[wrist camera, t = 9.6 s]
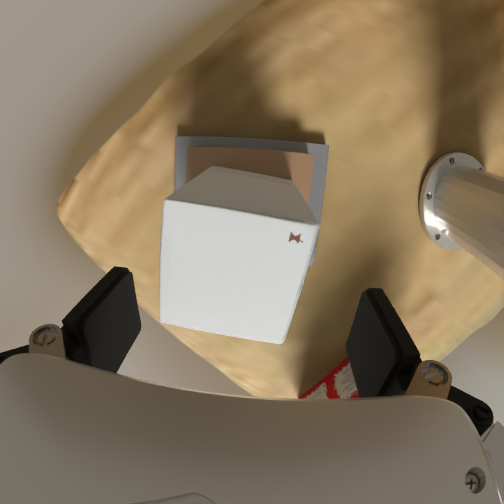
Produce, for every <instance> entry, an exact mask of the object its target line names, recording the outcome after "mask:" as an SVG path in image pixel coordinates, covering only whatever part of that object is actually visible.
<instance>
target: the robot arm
mask: <svg viewBox="0 0 504 504" xmlns="http://www.w3.org/2000/svg"><path fill="white" fill-rule="evenodd" d="M419 209H420V218H421V222H422V225H423V228H424V230H425V232H426V234H427V235H428V237H429V238H430V239H431V240H432V241H433V242H434V243H435V244H437V245H438V246H440V247H442V248H444V249H448V250H455V249H460V248H463V249H465V250H466V251H467V252H469V253H470V254H471V255H473V256H474V257H475V258H477V259H478V260H479V261H481V262H482V263H483V264H484V265H486V266H487V267H488V268H490V269H491V270H492V271H493V272H495V273H496V274H497V275H498V276H499V277H501V278H502V279H503V280H504V177H502V176H499V175H495V174H492V173H489V172H486V171H485V170H484V168H483V167H482V165H481V164H480V163H479V161H477V160H476V159H475V158H474V157H472V156H471V155H469V154H465V153H461V152H452V153H447V154H446V155H444V156H442V157H440V158H439V159H438V160H437V161H436V162H435V163H434V164H433V165H432V166H431V168H430V169H429V171H428V173H427V175H426V176H425V179H424V182H423V185H422V188H421V193H420V202H419ZM62 323H63V327H62V328H60V327H59V326H57V325H55V324H46V325H42V326H40V327H38V328H36V329H35V330H34V331H33V332H32V333H31V335H30V338H29V345H26V346H22V347H19V348H16V349H12V350H9V351H5V352H2V353H0V504H502V502H503V500H504V427H503V426H502V425H501V424H500V423H499V422H496V423H495V424H494V423H493V412H492V410H491V408H490V407H489V406H488V405H487V404H486V403H484V402H483V401H481V400H479V399H477V398H475V397H473V396H471V395H469V394H467V393H465V392H463V391H461V390H459V389H457V388H455V387H453V386H451V382H452V376H451V373H450V371H449V370H448V368H447V367H446V366H445V365H443V364H441V363H440V362H437V361H434V360H426V361H423V362H422V360H421V358H420V353H419V351H418V349H417V347H416V346H415V344H414V342H413V340H412V338H411V337H410V335H409V333H408V331H407V330H406V328H405V326H404V324H403V323H402V321H401V319H400V318H399V316H398V314H397V313H396V311H395V309H394V308H393V306H392V304H391V303H390V301H389V299H388V298H387V296H386V295H385V293H384V291H383V290H382V289H380V288H368V289H367V290H366V291H363V292H362V295H361V298H360V302H359V305H358V308H357V312H356V315H355V318H354V322H353V325H352V328H351V331H350V334H349V337H348V340H347V344H346V351H347V354H348V358H349V361H350V365H351V368H352V372H353V376H354V379H355V383H356V387H357V391H358V395H359V398H345V399H288V398H268V397H254V396H242V395H231V394H222V393H215V392H207V391H200V390H194V389H188V388H182V387H176V386H170V385H165V384H159V383H155V382H150V381H146V380H141V379H136V378H132V377H128V376H124V375H120V374H117V371H118V369H119V367H120V365H121V364H122V362H123V360H124V359H125V357H126V355H127V353H128V351H129V350H130V348H131V346H132V344H133V343H134V341H135V339H136V338H137V336H138V334H139V332H140V330H141V320H140V315H139V310H138V305H137V299H136V293H135V287H134V281H133V275H132V272H129V270H128V268H124V267H113V268H112V269H111V270H110V271H109V272H108V273H107V274H106V275H105V276H104V277H103V278H102V279H101V280H100V281H99V282H98V283H97V284H96V285H95V286H94V287H93V288H92V289H91V290H90V291H89V292H88V293H87V294H86V295H85V296H84V297H83V299H81V301H80V302H79V303H78V304H77V305H76V306H75V307H74V308H73V309H72V310H71V311H70V312H69V314H67V315H66V317H65V318H64V319H63V320H62Z"/></svg>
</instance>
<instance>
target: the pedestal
mask: <svg viewBox="0 0 504 504" xmlns="http://www.w3.org/2000/svg"><path fill="white" fill-rule="evenodd" d="M328 151H329V145H323V144H315V143H307V142H298V141H288V140H277V139H264V138H248V137H222V136H176V144H175V191H177V190H178V189H180V188H181V187H182V186H184V185H185V184H187V183H188V182H189V181H191V180H192V179H194V178H195V177H197V176H198V175H199V174H201V173H202V172H204V171H205V170H207V169H208V168H210V167H211V166H218V167H225V168H231V169H236V170H242V171H248V172H253V173H258V174H263V175H268V176H273V177H278V178H283V179H288V180H292V181H293V183H294V184H295V186H296V187H297V189H298V191H299V192H300V194H301V195H302V197H303V198H304V200H305V201H306V203H307V205H308V206H309V208H310V209H311V211H312V213H313V214H314V216H315V217H316V219H317V221H318V222H319V224H320V219H321V212H322V204H323V197H324V188H325V180H326V171H327V161H328ZM318 233H319V230H318ZM317 240H318V234H317V237H316V240H315V244H314V247H313V251H312V254H311V258H310V261H309V265H308V266H313V265H314V259H315V253H316V247H317Z"/></svg>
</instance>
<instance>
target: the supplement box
mask: <svg viewBox="0 0 504 504" xmlns="http://www.w3.org/2000/svg"><path fill="white" fill-rule="evenodd" d="M319 227H320V224H319V222H318V221H317V219H316V217H315V216H314V214H313V213H312V211H311V209H310V208H309V206H308V205H307V203H306V201H305V200H304V198H303V197H302V195H301V194H300V192H299V191H298V189H297V187H296V186H295V184H294V183H293V181H292V180H288V179H283V178H278V177H273V176H268V175H263V174H258V173H253V172H248V171H242V170H236V169H231V168H225V167H218V166H211V167H210V168H208V169H207V170H205V171H204V172H202V173H201V174H199V175H198V176H197V177H195V178H194V179H192V180H191V181H189V182H188V183H187V184H185V185H184V186H182V187H181V188H180V189H178V190H177V191H175V192H174V193H173V194H171V195H170V196H168V197H167V198H165V199H164V204H163V214H162V226H161V243H160V267H159V320H160V322H163V323H167V324H171V325H176V326H180V327H185V328H190V329H195V330H200V331H205V332H210V333H215V334H221V335H227V336H233V337H240V338H245V339H251V340H256V341H262V342H269V343H275V344H282V343H283V342H284V341H285V338H286V335H287V332H288V329H289V326H290V323H291V320H292V317H293V314H294V310H295V307H296V304H297V301H298V298H299V295H300V292H301V290H302V287H303V282H304V278H305V275H306V271H307V268H308V265H309V261H310V258H311V254H312V251H313V247H314V244H315V240H316V237H317V234H318V230H319Z"/></svg>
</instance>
